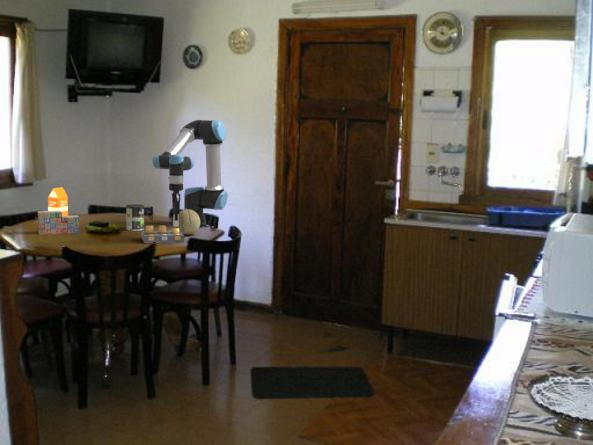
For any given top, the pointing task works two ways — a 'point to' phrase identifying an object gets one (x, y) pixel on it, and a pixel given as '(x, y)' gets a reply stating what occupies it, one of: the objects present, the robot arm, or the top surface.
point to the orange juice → (58, 201)
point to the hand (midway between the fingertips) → (175, 226)
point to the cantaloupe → (188, 221)
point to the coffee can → (134, 217)
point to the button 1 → (149, 229)
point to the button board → (162, 237)
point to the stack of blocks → (57, 223)
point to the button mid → (162, 229)
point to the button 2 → (175, 230)
